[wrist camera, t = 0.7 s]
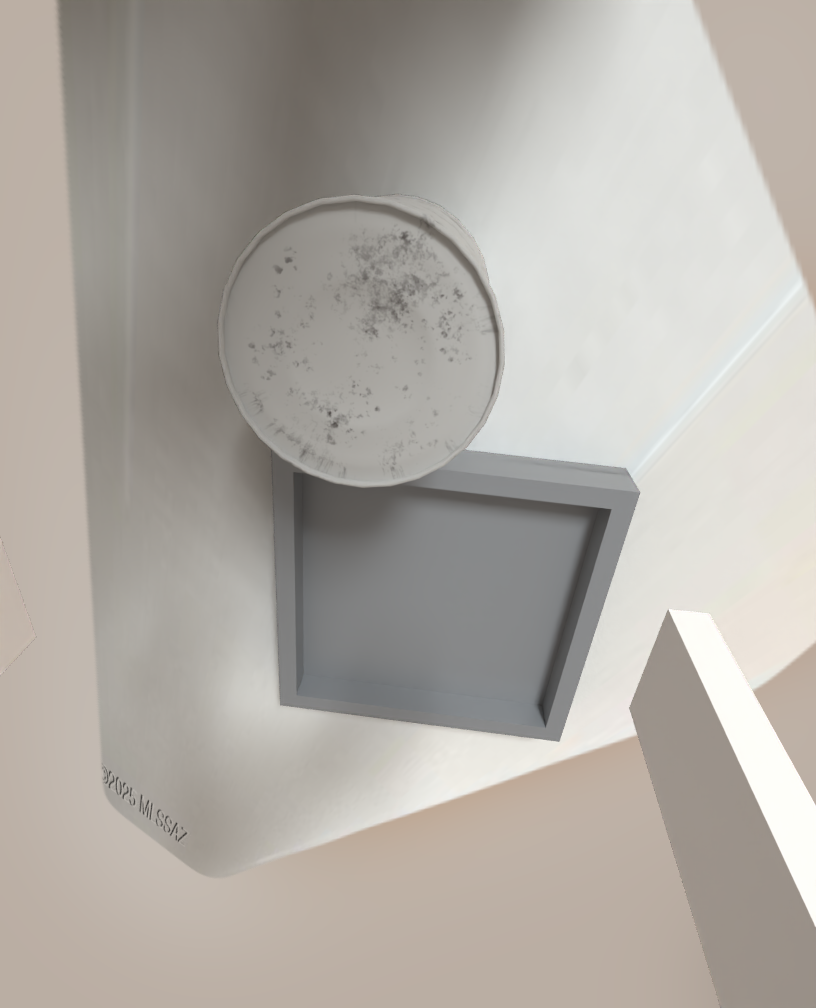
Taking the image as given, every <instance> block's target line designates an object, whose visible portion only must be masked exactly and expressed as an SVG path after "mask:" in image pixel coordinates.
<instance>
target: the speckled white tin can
mask: <svg viewBox="0 0 816 1008" xmlns="http://www.w3.org/2000/svg"><path fill="white" fill-rule="evenodd" d="M217 323H218V348H219V358H220V361H221V365H222V369H223V373H224V377H225V381H226V385H227V387H228V389H229V391H230V393H231V395H232V397H233V400H234V402H235V404H236V406H237V408H238V410H239V412H240V414H241V415H242V416H243V418H244V419H245V420H246V422H247V423H248V424H249V426H250V427H251V428H252V430H253V431H254V432H255V434H256V435H257V436H258V438H259V439H260V440H262V441H263V442H264V443H265V444H266V445H267V446H268V447H269V448H271V449H272V450H273V451H274V452H275V453H276V454H277V455H278V456H279V457H281V458H282V459H283V460H285V461H287V462H288V463H290V464H292V465H294V466H295V467H297V468H299V469H300V470H302V471H304V472H305V473H307V474H310V475H312V476H315V477H318V478H321V479H324V480H326V481H329V482H332V483H335V484H342V485H348V486H355V487H361V488H366V487H386V486H394V485H398V484H401V483H405V482H409V481H413V480H417V479H420V478H421V477H423V476H425V475H427V474H429V473H431V472H433V471H435V470H437V469H439V468H441V467H443V466H445V465H446V464H447V463H448V462H450V461H451V460H452V459H453V458H454V457H456V456H457V455H458V454H459V453H461V452H462V451H463V450H464V449H465V448H467V446H468V445H469V444H470V443H471V441H472V440H473V439H474V437H475V436H476V435H477V433H478V432H479V431H480V430H481V428H482V427H483V426H484V424H485V423H486V421H487V418H488V416H489V414H490V412H491V410H492V408H493V405H494V403H495V401H496V399H497V397H498V393H499V389H500V384H501V379H502V374H503V370H504V365H505V356H504V328H503V324H502V320H501V316H500V312H499V308H498V304H497V300H496V296H495V294H494V292H493V290H492V288H491V286H490V284H489V277H488V273H487V269H486V265H485V261H484V257H483V255H482V253H481V251H480V250H479V248H478V246H477V244H476V242H475V240H474V238H473V236H472V235H471V234H470V233H469V231H468V230H467V229H466V228H465V227H464V225H463V224H462V223H461V222H460V221H459V219H457V218H456V217H454V216H453V215H452V214H450V213H449V212H448V211H446V210H445V209H444V208H442V207H441V206H439V205H437V204H434V203H432V202H430V201H427V200H425V199H422V198H420V197H414V196H407V195H400V194H394V195H385V196H377V197H369V196H362V195H346V196H337V197H329V198H320V199H316V200H314V201H311V202H309V203H306V204H304V205H301V206H299V207H296V208H294V209H291V210H289V211H286V212H285V213H283V214H282V215H281V216H279V217H278V218H277V219H275V220H274V221H273V222H271V223H270V224H269V225H267V226H266V227H265V228H263V229H262V230H261V231H259V232H258V233H257V234H256V236H255V237H254V238H253V239H252V241H251V242H250V243H249V245H248V246H247V247H246V248H245V250H244V251H243V252H242V253H241V255H240V256H239V257H238V258H237V260H236V263H235V265H234V267H233V269H232V271H231V274H230V276H229V278H228V280H227V283H226V285H225V287H224V289H223V295H222V300H221V305H220V311H219V316H218V322H217Z"/></svg>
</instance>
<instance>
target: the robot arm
mask: <svg viewBox="0 0 816 1008" xmlns="http://www.w3.org/2000/svg"><path fill="white" fill-rule="evenodd" d="M35 638H36V635H35V632H34V629H33V627H32V624H31V621H30V618H29V615H28V613H27V610H26V607H25V604H24V601H23V599H22V596H21V593H20V590H19V588H18V585H17V582H16V579H15V576H14V573H13V571H12V568H11V565H10V562H9V559H8V557H7V554H6V551H5V548H4V545H3V543H2V540H1V537H0V675H1V674H2V673H3V672H4V671H5V670H6V669H7V668H8V667H9V666H10V665H11V664H12V663H13V662H14V661H15V659H16V658H17V657H18V656H19V655H20V654H21V653H22V652H23V651H24V650H25V649H26V648H27V647H28V646H29V644H30V643H31V642H32V641H33V640H34V639H35ZM629 709H630V712H631V715H632V718H633V722H634V725H635V728H636V732H637V735H638V738H639V741H640V745H641V748H642V751H643V755H644V757H645V761H646V764H647V768H648V771H649V774H650V778H651V781H652V784H653V787H654V791H655V794H656V797H657V801H658V804H659V807H660V810H661V814H662V817H663V820H664V824H665V827H666V830H667V833H668V837H669V840H670V843H671V847H672V850H673V853H674V856H675V859H676V863H677V866H678V870H679V873H680V876H681V879H682V883H683V886H684V889H685V893H686V896H687V899H688V902H689V905H690V909H691V912H692V916H693V919H694V922H695V925H696V929H697V932H698V935H699V938H700V942H701V945H702V948H703V951H704V955H705V958H706V961H707V965H708V968H709V971H710V975H711V978H712V981H713V984H714V987H715V991H716V994H717V998H718V1001H719V1004H720V1008H816V805H815V804H814V802H813V800H812V798H811V797H810V795H809V793H808V791H807V789H806V787H805V786H804V784H803V782H802V780H801V778H800V776H799V775H798V773H797V771H796V769H795V767H794V766H793V764H792V762H791V760H790V758H789V757H788V755H787V753H786V751H785V749H784V748H783V746H782V744H781V742H780V740H779V739H778V737H777V735H776V733H775V731H774V730H773V728H772V726H771V724H770V722H769V720H768V719H767V717H766V715H765V713H764V711H763V710H762V708H761V706H760V704H759V702H758V701H757V699H756V697H755V695H754V693H753V691H752V690H751V688H750V686H749V684H748V682H747V681H746V679H745V677H744V675H743V673H742V672H741V670H740V668H739V666H738V664H737V663H736V661H735V659H734V657H733V655H732V653H731V652H730V650H729V648H728V646H727V644H726V643H725V641H724V639H723V637H722V635H721V634H720V632H719V630H718V628H717V626H716V625H715V623H714V621H713V619H712V617H711V616H710V614H709V613H700V612H691V611H682V610H673V609H668V611H667V613H666V616H665V618H664V621H663V623H662V626H661V628H660V631H659V634H658V636H657V639H656V641H655V644H654V646H653V649H652V651H651V654H650V656H649V659H648V662H647V664H646V667H645V669H644V672H643V674H642V677H641V679H640V682H639V684H638V687H637V689H636V692H635V695H634V697H633V700H632V702H631V705H630V707H629Z"/></svg>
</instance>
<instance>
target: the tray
mask: <svg viewBox="0 0 816 1008" xmlns="http://www.w3.org/2000/svg"><path fill="white" fill-rule="evenodd" d="M271 457H272V485H273V513H274V542H275V570H276V598H277V627H278V655H279V683H280V705H283V706H291V707H299V708H306V709H314V710H321V711H329V712H337V713H344V714H352V715H360V716H367V717H375V718H383V719H390V720H398V721H406V722H413V723H421V724H428V725H436V726H444V727H451V728H459V729H467V730H474V731H482V732H490V733H497V734H505V735H513V736H520V737H528V738H535V739H543V740H551V741H558V742H559V741H560V738H561V735H562V732H563V729H564V726H565V723H566V720H567V717H568V713H569V710H570V707H571V704H572V701H573V698H574V695H575V692H576V689H577V686H578V683H579V680H580V676H581V673H582V670H583V667H584V664H585V661H586V658H587V655H588V652H589V649H590V646H591V643H592V639H593V636H594V633H595V630H596V627H597V624H598V621H599V618H600V615H601V612H602V609H603V606H604V602H605V599H606V596H607V593H608V590H609V587H610V584H611V581H612V578H613V575H614V572H615V569H616V565H617V562H618V559H619V556H620V553H621V550H622V547H623V544H624V541H625V538H626V535H627V532H628V528H629V525H630V522H631V519H632V516H633V513H634V510H635V507H636V504H637V501H638V498H639V495H640V491H639V490H638V488H637V486H636V484H635V483H634V481H633V479H632V478H631V476H630V474H629V473H628V471H627V469H626V468H617V467H609V466H600V465H591V464H582V463H573V462H565V461H556V460H547V459H538V458H530V457H521V456H512V455H503V454H494V453H486V452H477V451H468V450H463V451H462V452H461V453H459V454H458V455H457V456H456V457H454V458H453V459H452V460H451V461H450V462H448V463H447V464H446V465H445V466H443V467H441V468H439V469H437V470H435V471H433V472H431V473H429V474H427V475H425V476H423V477H421V478H420V479H417V480H413V481H409V482H405V483H401V484H398V485H394V486H386V487H366V488H361V487H355V486H348V485H342V484H335V483H332V482H329V481H326V480H324V479H321V478H318V477H315V476H312V475H310V474H307V473H305V472H304V471H302V470H300V469H299V468H297V467H295V466H294V465H292V464H290V463H288V462H287V461H285V460H283V459H282V458H281V457H279V456H278V455H277V454H276V453H275V452H274V451H273V450H271Z"/></svg>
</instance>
